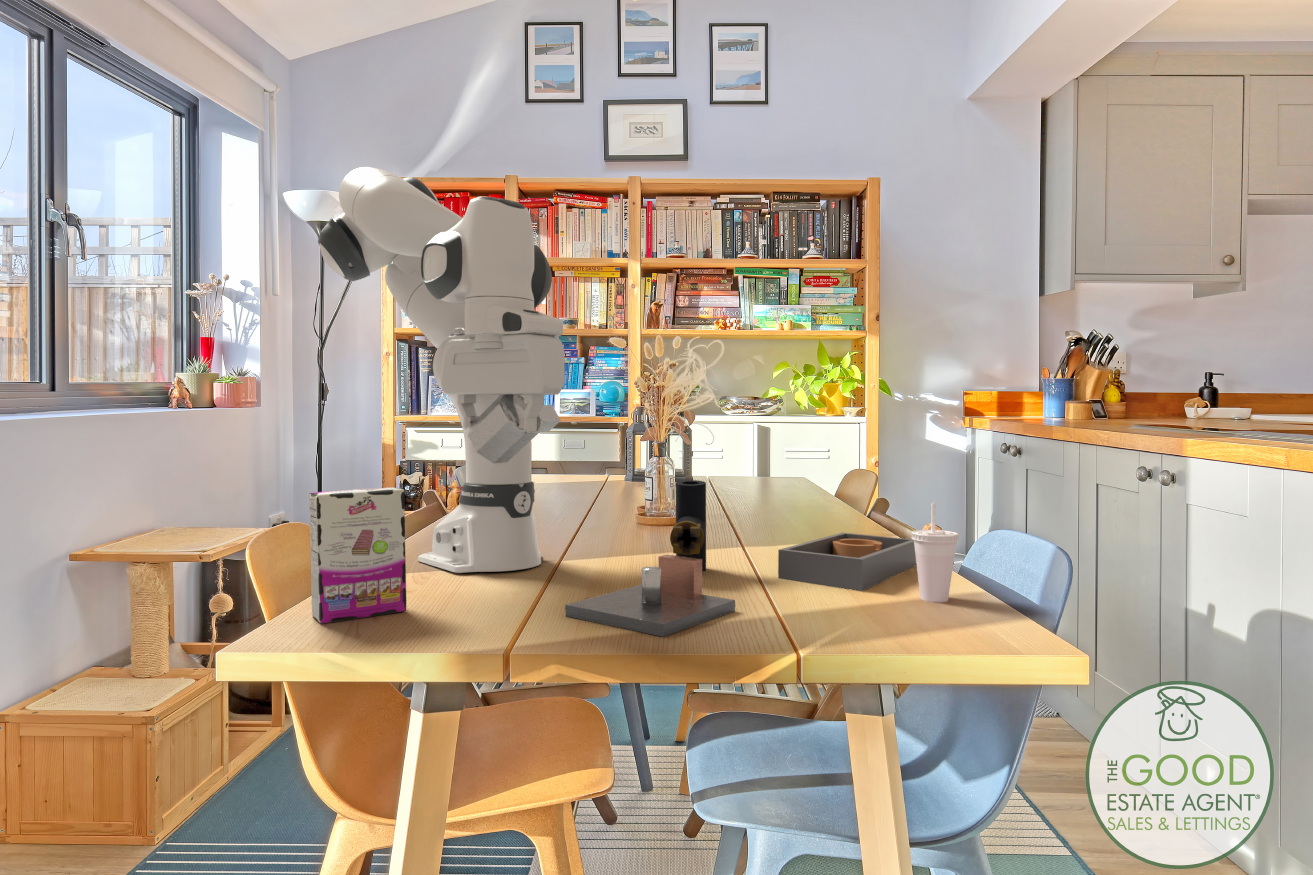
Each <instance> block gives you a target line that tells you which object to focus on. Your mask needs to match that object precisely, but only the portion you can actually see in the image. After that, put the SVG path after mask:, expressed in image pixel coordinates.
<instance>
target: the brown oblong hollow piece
mask: <svg viewBox="0 0 1313 875" xmlns="http://www.w3.org/2000/svg"><path fill="white" fill-rule="evenodd" d="M880 550H882V543H881V542H879V541H875V540H867V539H837V540H835V541H833V555H839V556H847V557H856V558H860V557H862V556H865V555H868V554H871V553H874V552H877V551H880Z"/></svg>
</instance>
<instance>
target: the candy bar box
mask: <svg viewBox="0 0 1313 875" xmlns="http://www.w3.org/2000/svg"><path fill="white" fill-rule="evenodd" d="M308 496H309V497H308V498H309V503H308V504H309V532H310V533H309V535H310V538H309V539H310V541H309V542H310V545H309V546H310V576H311V577H310V579H311V582H310V583H311V585H310V586H311V590H310V591H311V615H312V617H313V619H315V620H316V621H317V622H318V623H319V624H329V623H336V622H343V621H351V620H358V619H363V618H370V617H376V616H377V617H378V616H383V615H390V614H398V613H402V612H406V611H407V570H406V568H407V565H406V561H407V560H406V557H407V556H406V518H405V517H406V516H405V513H406V512H405V489H402V488H398V487H396V486H393V487H376V488H361V489H359V488H358V489H344V490H343V489H342V490H331V491H328V490H327V491H317V492H316V491H315V492H309V495H308Z"/></svg>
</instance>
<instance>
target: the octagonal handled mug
mask: <svg viewBox="0 0 1313 875" xmlns="http://www.w3.org/2000/svg"><path fill="white" fill-rule="evenodd" d="M526 407H527V404H525V403H524V397H523V396H522V395H512V394H501V395H500V396H499V397H498V398H497V399H496V400H495V401H494V402H493V403H492V404H491V405H490V406H489V407H488V408H487V409H486V410H485V411H484V412H483V413H482V414H481V415H480V416H479V417H478V418H477V419H476V420H475V421H474V422H473V423H472V425H471V428H470V431H469V433H468V437H469V439H470V441H471V443H472V445H473V447H474V449H475V451H476V452H477V453H478V454H480V455H481V456H483V457H484V458H486V459H487V460H489V461H490V462H492V463H504V462H508V461H509V460H510V459H511V458H512V457H513V456H515V455H516V454H517V453H518V452H519V451H520V450H521V449H522V448H523V447H524V446H525V445H526V444H528V443H529V442H530V441H531V442H532V441H533V439H534V438H535V437H537V435H539V434H540V433H545V432H546V433H547V432H550V431H551V430H553V428H555V427H556V426H557V425H559V423H560V422H561V419H560V417H559V415H558V413H557V411H556V408H554V406H553V405H552V404H544V405H543V407H542V409H541V411H540V413H539V415H538V417H537V429H536V431H534V432H527V431H520V430H519V417H523V416H524V413H525V410H526Z"/></svg>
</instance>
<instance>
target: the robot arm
mask: <svg viewBox="0 0 1313 875" xmlns="http://www.w3.org/2000/svg"><path fill="white" fill-rule="evenodd" d="M338 199H339V200H338V201H339V204H340V206H341V210H342V211H343V212H342V213H341V214H340V215H338V216H337V217H334V218H332V217H331V218H330V219H329V220H328V222H327V224H326V225H325V226H324V227H323V228H322V229H321V230H320V231H319V234H318V239H317V243H318V245H319V249H320V253H321V255H322V258H323V260H324V261H325V263H326V264H327V266H328V267H329V268H330V269H331V270H332V271H334V272H335V273H336V274H338V275H339V276H341V277H342V278H344V280H347V281H351V282H356V281H360V280H362V279H365V278H367V277H370V276H371V273H373V272H376V271H378V270H380V269H382V268H383V267H385V266H386V268H385V270H384V271H385V273H384V279H385V280H384V281H385V283H386V286H387V288H388V290H389V292H390V293H391V296H392V297H393V299H394V300H395V301H396V303H397V304H398V306H399V307H400V309H401V310H402V312H403V313H404V314H405V315H406V317H408V319H409V320H410V321H411V322H412V323H413V325H415V327H417V329H418V330H419V331H420V332H421V334H422V335H423V336H424V337H425V338H426V339H427V340H428V341H429V342H430V343H431V344H432V346H433V347H435V348H436V351H435V354H434V357H433V361H432V362H433V363H432V370H433V372H432V373H433V377H434V379H435V382H436V384H437V385H438V387H439V388H440V389H441V390H442V392H443V394H444V395H445V396H448V398H449V399H450V401H451V402H452V404H453V406H454V408H455V410H456V413H457V415H458V418H459V421H460V425H461V427H462V432H463V438H464V448H465V449H464V450H465V452H464V453H465V482H464V483H463V484H462V486H455V489H458V490H459V489H460V490H459V491H455V494H460V495H459V499H458V503H459V504H458V505H457V506H456V507H455V508H454V509H453V510H452V511H450V513H449V514H448V515H447V516H446V517H445V518H443V519H442V520H441V521H440V522H439V523H438V524H436V526H435V527H434V529H433V534H432V546H431V548H432V549H431V550H432V551H428V552H425V553H422V554H420V555H418V557H417V562H420V563H423V564H426V565H430V566H432V567H437V568H439V569H442V570H446V571H449V572H452V573H457V574H459V573H461V574H463V573H478V572H480V573H483V572H484V573H485V572H486V573H487V572H490V573H491V572H495V573H496V572H509V571H510V572H511V571H518V570H519V571H520V570H526V569H530V568H534V567H537V566H539V565H541V564H542V552H541V551H540V550H539V545H538V536H537V524H536V515H535V513H534V510H533V504H534V502H535V493H536V490H535V483H534V481H532V473H533V472H532V458H533V456H532V455H533V454H532V442H533V441H532V440H531V441H530V442H529V443H528V444H526V445H525V446H524V447H523V448H522V449H521V450H520V451H519V452H518V453H517V454H516V455H515V456H513V457H512V458H511V459H510V460H509V461H508V462H504V463H492V462H490V461H489V460H487V459H486V458H484V457H483V456H481V455H480V454H478V453H477V452H476V451H475V449H474V447H473V445H472V443H471V441H470V439H469V437H468V433H469V431H470V428H471V425H472V423H473V422H474V421H475V420H476V419H477V418H478V417H479V416H480V415H481V414H482V413H483V412H484V411H485V410H486V409H487V408H488V407H489V406H490V405H491V404H492V403H493V402H494V401H495V400H496V399H497V398H498V397H499V396H500V395H501V394H512V395H522V396H523V397H524V403H525V404H527V407H526V410H525V413H524V416H523V417H519V430H520V431H527V432H534V431H536V429H537V417H538V415H539V413H540V411H541V409H542V407H543V405H545V396H546V395H547V396H549V395H552V396H553V395H555V396H556V395H557V396H558V395H559V394H560V393H561V391H562V390H563V388H564V386H565V375H566V370H565V369H566V365H565V364H566V363H565V359H566V358H565V348H564V345H563V343H562V340H561V339H560V338H559V337H561V336H562V335H563V333H564V323H563V320H562V319H559V318H557V317H554V316H552V315H548V314H546V313H543V312H540V311H537V310H535V309H536V308H537V307H539V305H541V304H542V303H543V302H544V300H545V299H546V297H547V296H548V294H549V293H550V290H551V286H552V282H553V274H552V270H551V269H552V268H551V266H550V263H549V261H548V259H547V257H546V255H545V253H544V252H543V250H542V249H541V248H540V247H539V246H538V245H536V244H535V240H534V229H533V222H532V217H531V214H530V212H529V209H528V208H527V206H525V205H524V204H522V203H520V202H517V201H514V200H509V199H505V198H500V197H494V196H477V197H474V198H472V199H470V201H469V203H468V205H467V208H466V211H465V214H464V216H463V217H462V216H460V215H458V214H457V213H456V212H454V211H452V209H449V208H448V207H446V206H444V205H443V204H441V203H439V202H440V201H439V200H438V198H437V196H436V195H435V193H434V192H433V191H432V190H431V188H430V187H428V185H426V184H425V183H424V182H422V180H420V179H418V178H415V177H413V176H407V177H404V178H402V177H400V176H399V175H396V174H394V173H393V172H390V171H387V170H384V169H381V168H376V167H372V166H371V167H370V166H364V167H363V166H362V167H358V168H355V169H353V170H351V171H349V173H347V174H346V175H345V176H344V178H343V180H342V181H341V182H340V185H339V190H338Z"/></svg>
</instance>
